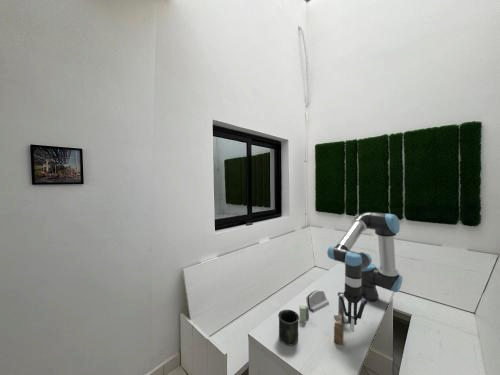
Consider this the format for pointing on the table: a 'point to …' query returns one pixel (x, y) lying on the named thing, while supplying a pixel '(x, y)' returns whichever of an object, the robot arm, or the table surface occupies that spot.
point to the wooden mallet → (338, 330)
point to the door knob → (340, 309)
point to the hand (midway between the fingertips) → (352, 330)
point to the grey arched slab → (316, 300)
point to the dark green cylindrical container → (288, 326)
